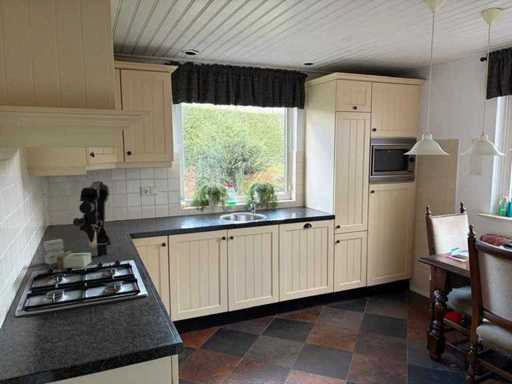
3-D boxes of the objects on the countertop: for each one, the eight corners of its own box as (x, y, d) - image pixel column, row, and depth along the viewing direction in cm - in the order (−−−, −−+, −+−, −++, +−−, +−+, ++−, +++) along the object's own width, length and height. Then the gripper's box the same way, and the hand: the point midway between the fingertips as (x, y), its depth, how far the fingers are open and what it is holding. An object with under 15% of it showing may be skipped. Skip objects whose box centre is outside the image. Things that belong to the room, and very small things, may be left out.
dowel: (90, 245, 200) (89, 230, 200) (97, 245, 201) (96, 230, 200) (88, 247, 197) (87, 231, 196) (95, 247, 197) (94, 231, 196)
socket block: (71, 262, 200) (70, 253, 199) (91, 262, 200) (90, 252, 200) (63, 267, 190) (62, 258, 189) (84, 267, 190) (83, 257, 190)
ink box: (61, 259, 212) (59, 238, 211) (65, 261, 209) (63, 239, 208) (44, 263, 206) (42, 241, 205) (48, 264, 202) (46, 242, 202)
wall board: (68, 264, 201) (67, 251, 201) (130, 261, 203) (130, 248, 203) (57, 271, 188) (56, 257, 188) (124, 268, 190) (123, 254, 190)
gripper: (80, 210, 206) (82, 239, 207) (67, 214, 187) (69, 246, 188) (102, 209, 207) (103, 238, 208) (91, 213, 189) (93, 244, 189)
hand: (92, 241), depth 198 cm, fingers closed on dowel, 4 cm apart
